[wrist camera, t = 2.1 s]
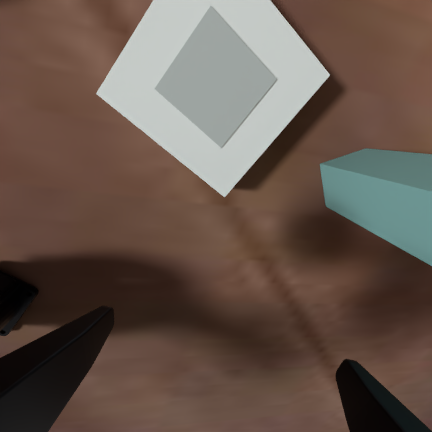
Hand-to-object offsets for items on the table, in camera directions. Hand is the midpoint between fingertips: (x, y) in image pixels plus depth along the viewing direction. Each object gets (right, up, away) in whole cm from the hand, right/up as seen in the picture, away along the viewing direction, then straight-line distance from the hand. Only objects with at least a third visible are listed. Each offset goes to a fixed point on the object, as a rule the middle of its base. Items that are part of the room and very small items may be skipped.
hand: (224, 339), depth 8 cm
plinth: (-1, +14, +8) cm, 16 cm away
